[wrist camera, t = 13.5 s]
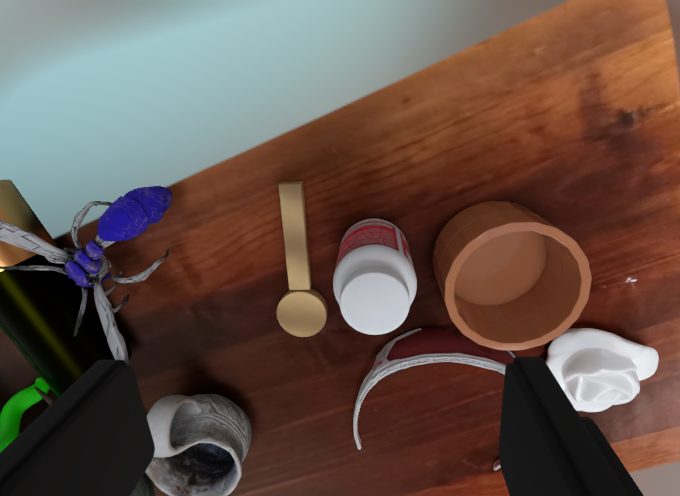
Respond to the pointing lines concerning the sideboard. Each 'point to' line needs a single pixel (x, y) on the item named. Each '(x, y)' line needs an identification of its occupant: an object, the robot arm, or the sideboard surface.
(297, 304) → the wooden spoon
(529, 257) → the pot
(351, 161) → the sideboard surface
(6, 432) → the toy octopus
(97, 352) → the battery
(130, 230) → the mechanical insect
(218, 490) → the mug
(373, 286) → the pill bottle
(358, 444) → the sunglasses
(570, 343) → the rose
